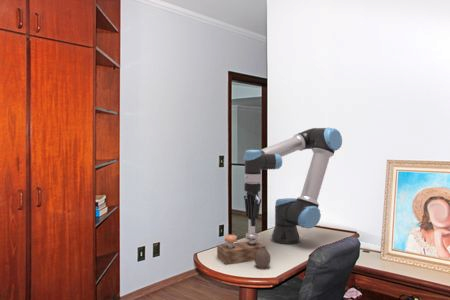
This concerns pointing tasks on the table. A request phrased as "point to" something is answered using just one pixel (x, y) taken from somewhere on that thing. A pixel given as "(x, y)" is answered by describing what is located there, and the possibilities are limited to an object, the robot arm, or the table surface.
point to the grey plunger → (251, 237)
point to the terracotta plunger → (230, 240)
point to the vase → (262, 257)
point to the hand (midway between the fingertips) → (251, 232)
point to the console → (237, 252)
